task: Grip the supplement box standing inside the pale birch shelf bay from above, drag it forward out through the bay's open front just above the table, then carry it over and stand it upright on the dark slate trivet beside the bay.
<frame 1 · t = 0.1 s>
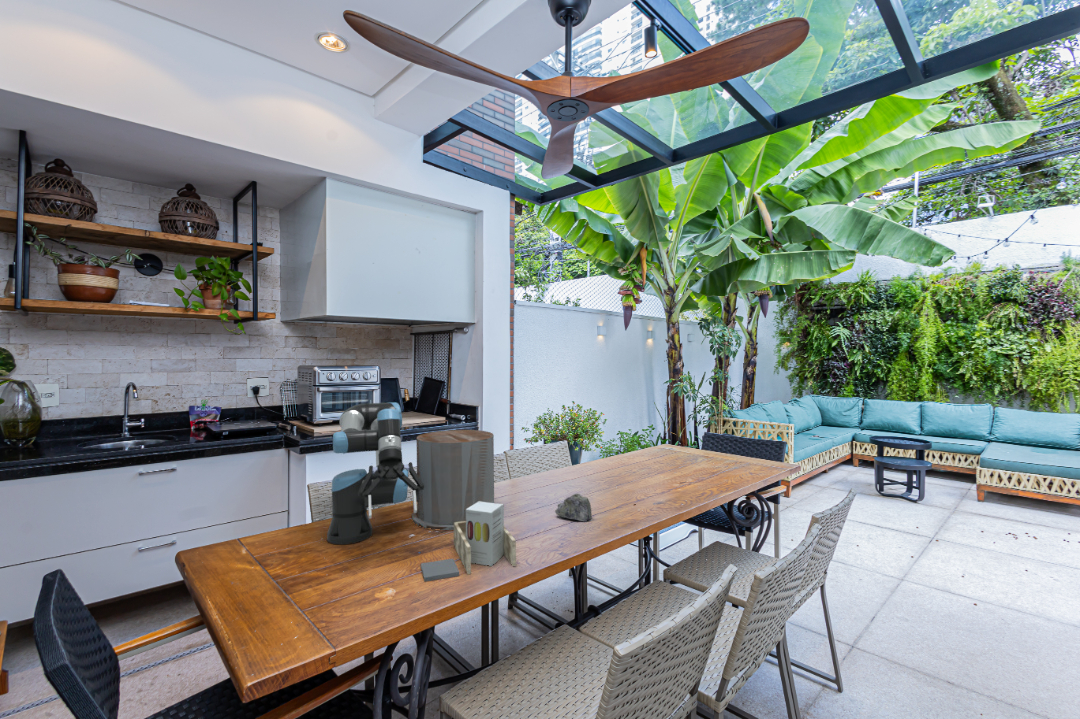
hand: (393, 514, 152), 15 cm above the table, tool tilted 35°, fingers open, 13 cm apart
supplement box: (485, 559, 155), resting in shelf bay
mineral rock: (574, 518, 192), on the table
shelf bay: (483, 555, 157), on the table
grey streaked cylinder: (456, 515, 197), on the table
slate trivet: (439, 571, 146), on the table
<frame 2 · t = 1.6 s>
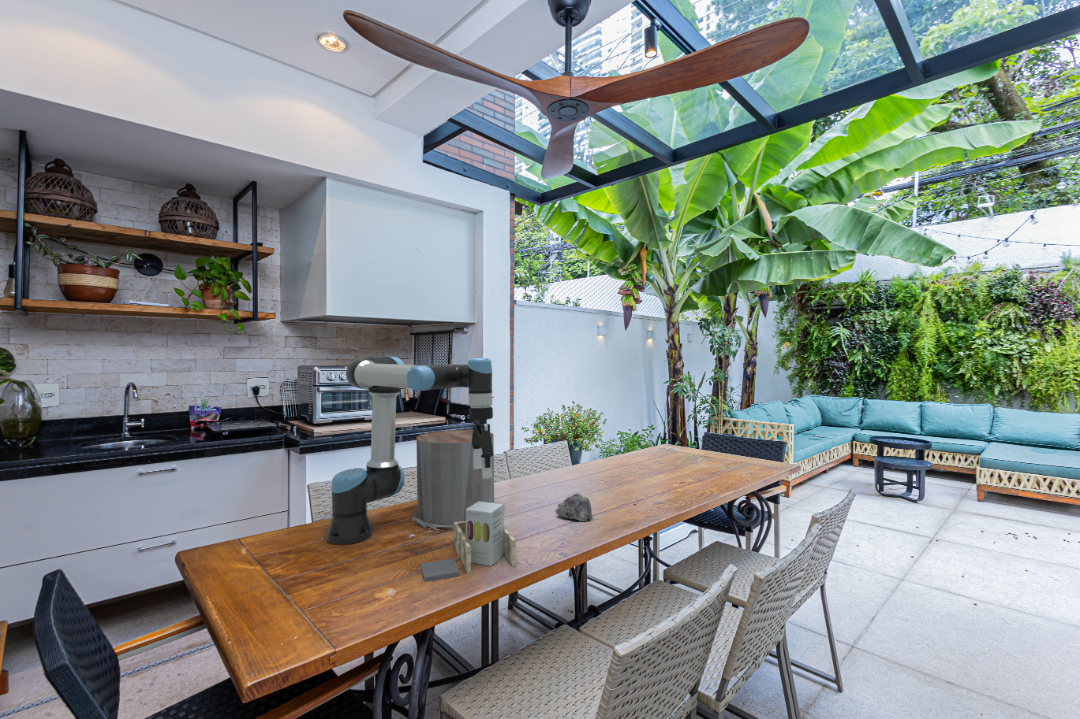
hand: (482, 473, 154), 27 cm above the table, tool pointing down, fingers open, 13 cm apart
nothing on the table moved.
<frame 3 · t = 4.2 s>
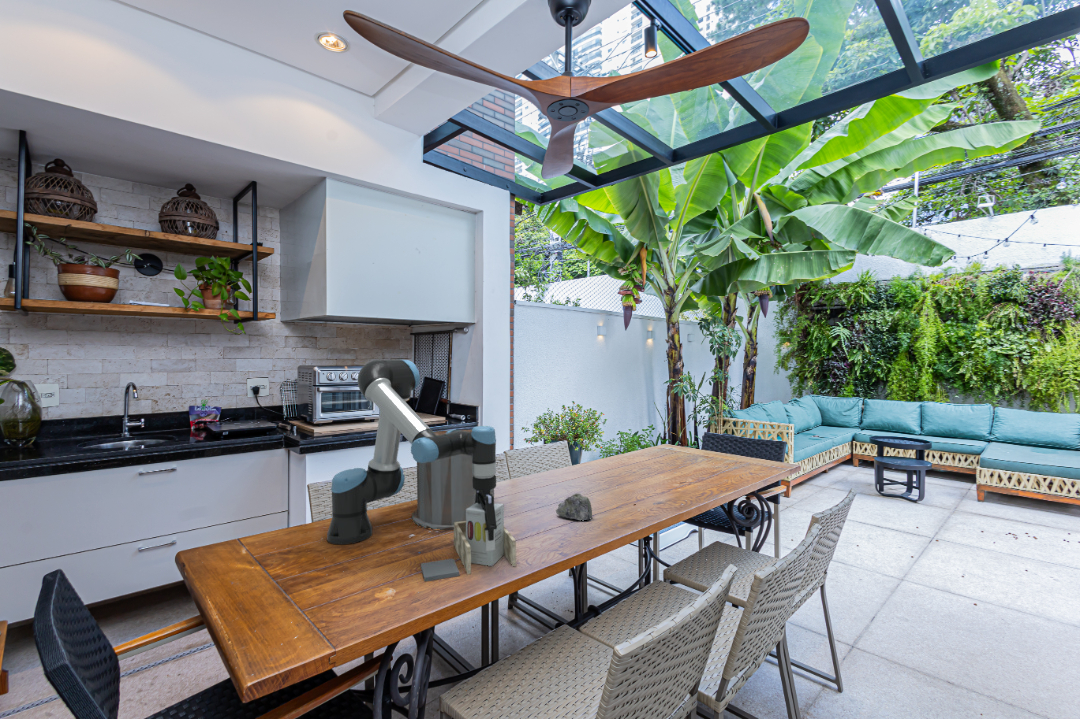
hand: (485, 542, 155), 5 cm above the table, tool pointing down, fingers closed on supplement box, 13 cm apart
supplement box: (485, 559, 155), resting in shelf bay, touching gripper
everything else where it was.
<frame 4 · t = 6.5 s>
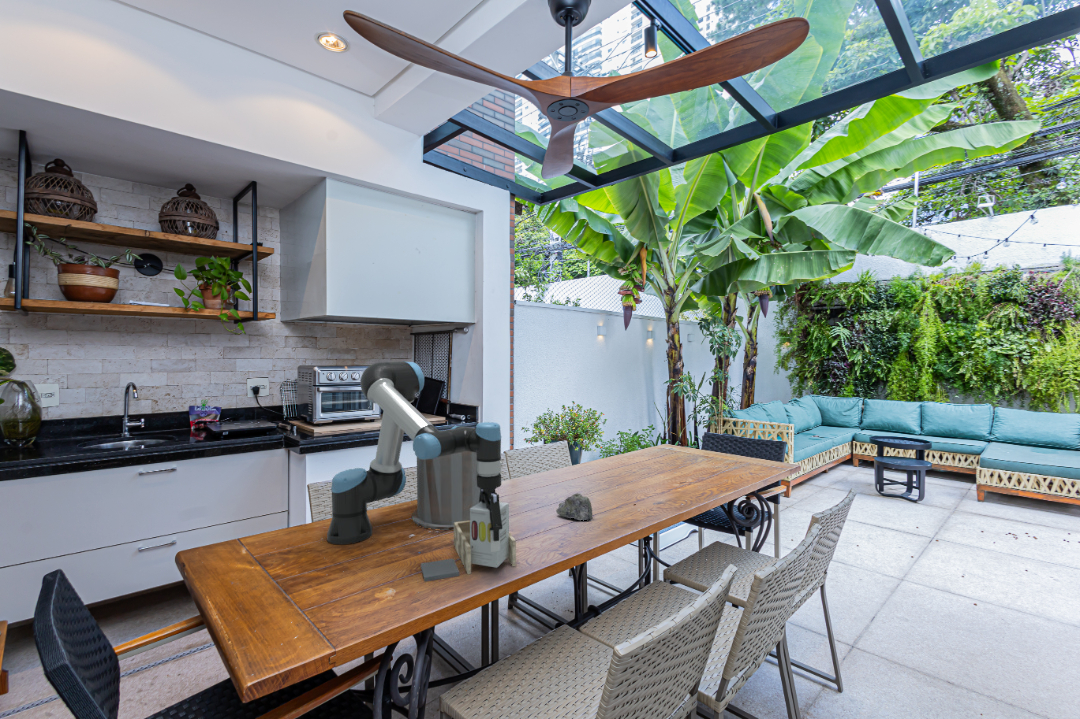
hand: (489, 542, 149), 7 cm above the table, tool pointing down, fingers closed on supplement box, 13 cm apart
supplement box: (489, 560, 149), point 2 cm above the table, touching gripper
everything else where it was.
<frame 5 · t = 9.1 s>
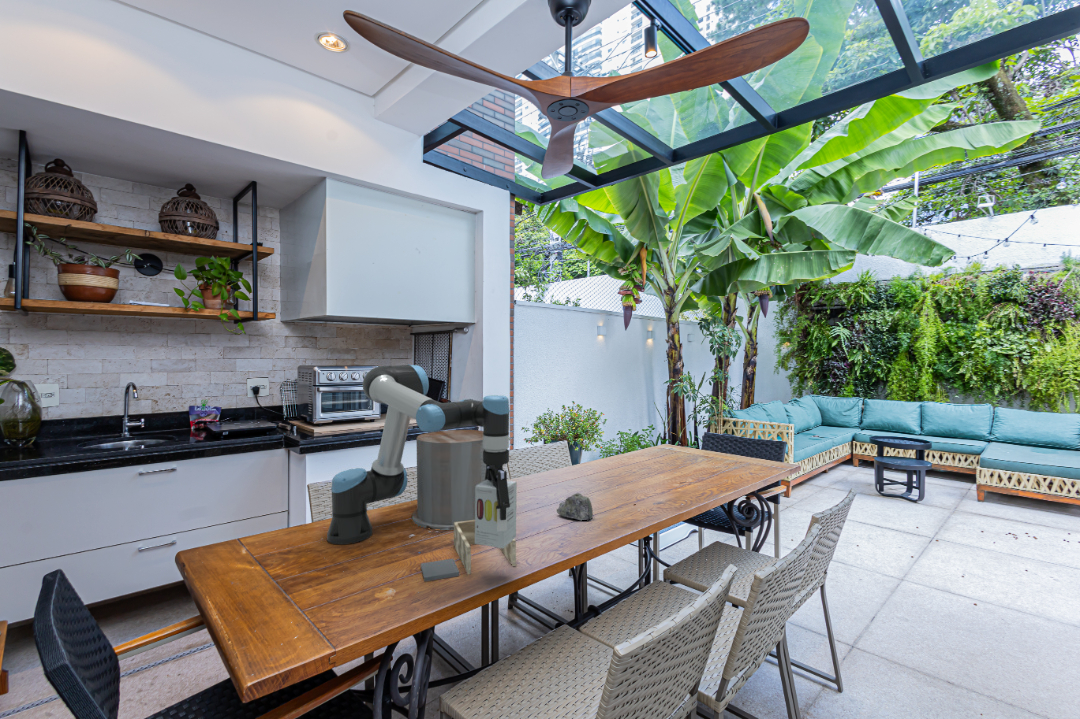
hand: (495, 522, 141), 16 cm above the table, tool pointing down, fingers closed on supplement box, 13 cm apart
supplement box: (495, 541, 141), point 11 cm above the table, touching gripper
everything else where it was.
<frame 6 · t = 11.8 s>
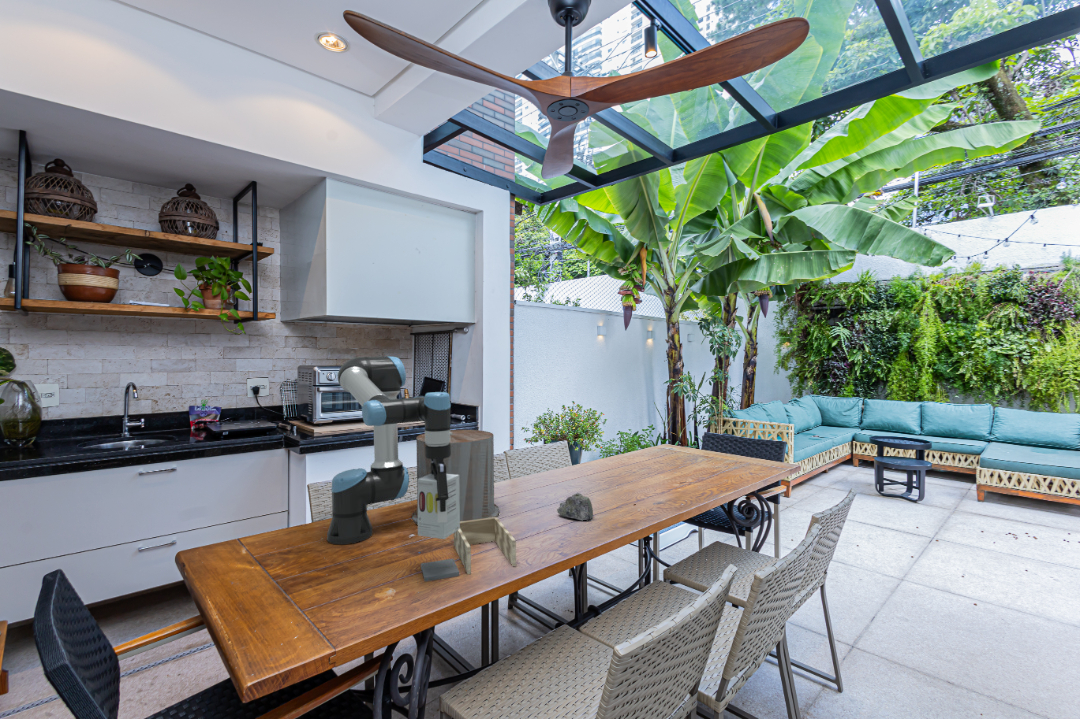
hand: (439, 515, 145), 17 cm above the table, tool pointing down, fingers closed on supplement box, 13 cm apart
supplement box: (439, 532, 146), point 12 cm above the table, touching gripper
everything else where it was.
when the fingers open (8 cm above the table, at t = 14.1 s): supplement box drops 1 cm, resting on slate trivet.
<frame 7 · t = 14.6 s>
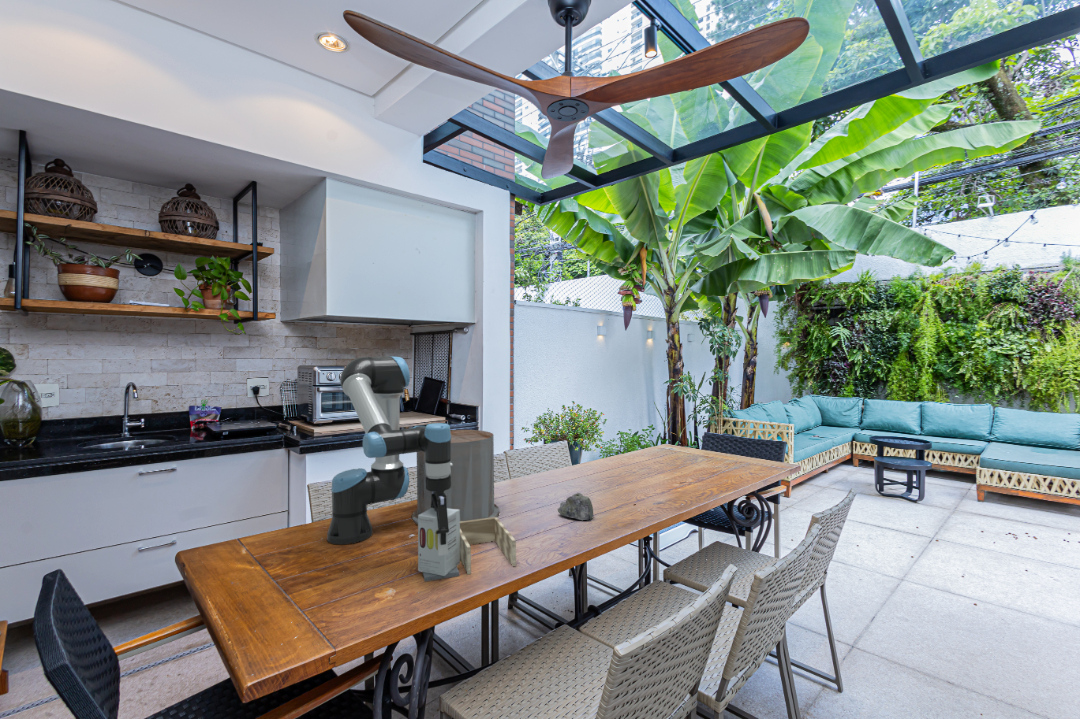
hand: (439, 546, 146), 8 cm above the table, tool pointing down, fingers open, 13 cm apart
supplement box: (439, 568, 146), point 1 cm above the table, touching slate trivet
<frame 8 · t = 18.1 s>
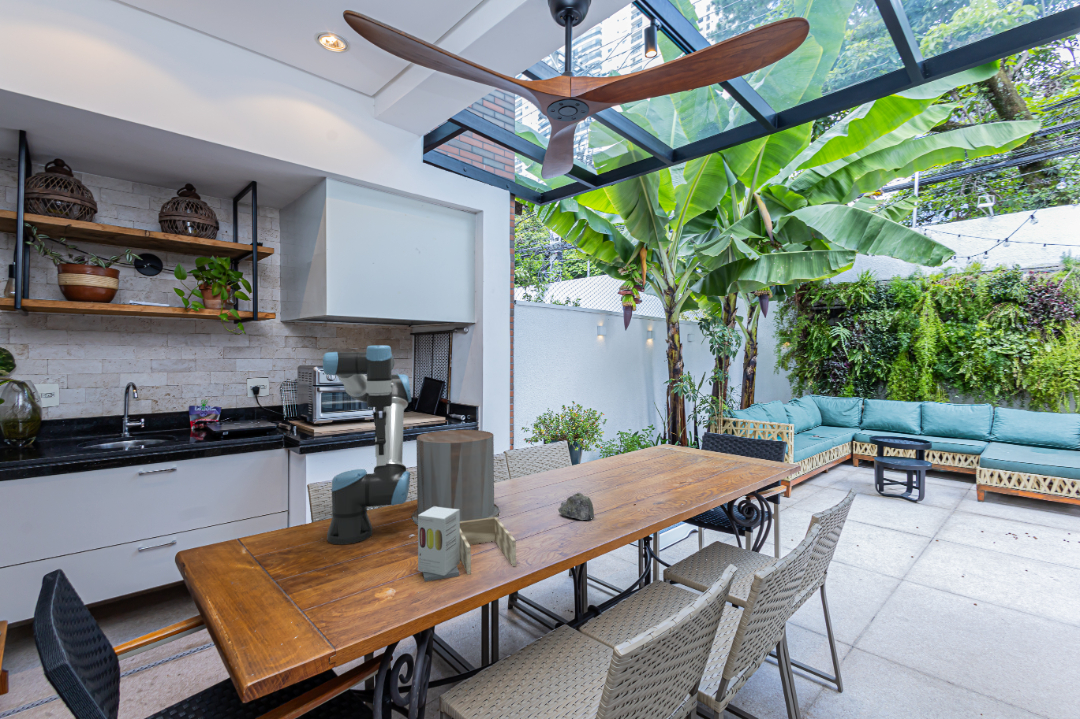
hand: (380, 460, 154), 32 cm above the table, tool pointing down, fingers open, 13 cm apart
at the end: supplement box inside the target area on the slate trivet (0.2 cm from its centre), point 1.0 cm above the slate trivet's base; supplement box tilted 0°; the gripper is holding nothing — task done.
